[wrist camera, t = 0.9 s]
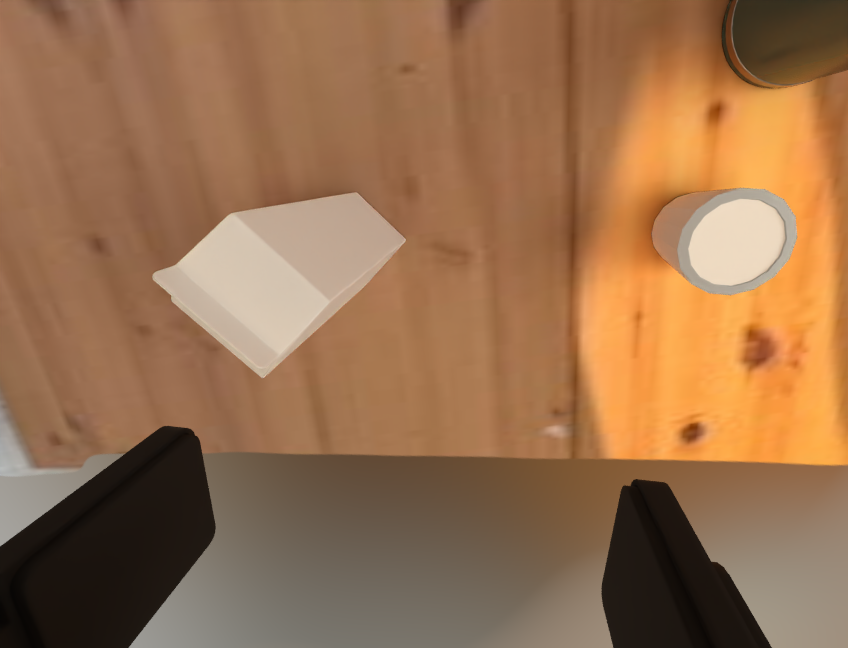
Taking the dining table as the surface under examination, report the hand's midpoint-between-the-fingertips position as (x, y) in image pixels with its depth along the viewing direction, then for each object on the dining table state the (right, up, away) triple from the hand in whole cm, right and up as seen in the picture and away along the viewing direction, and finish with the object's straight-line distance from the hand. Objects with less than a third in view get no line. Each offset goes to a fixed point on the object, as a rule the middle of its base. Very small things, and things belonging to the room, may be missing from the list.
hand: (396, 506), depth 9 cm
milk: (-5, +12, +29) cm, 31 cm away
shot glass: (+22, +12, +24) cm, 35 cm away
